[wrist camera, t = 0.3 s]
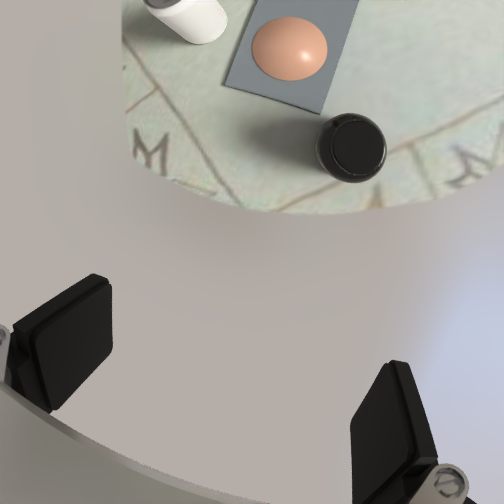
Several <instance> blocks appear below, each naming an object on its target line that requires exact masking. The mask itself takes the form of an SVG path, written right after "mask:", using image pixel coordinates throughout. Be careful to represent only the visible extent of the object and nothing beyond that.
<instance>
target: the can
mask: <svg viewBox="0 0 504 504" xmlns="http://www.w3.org/2000/svg"><path fill="white" fill-rule="evenodd" d="M143 1H144V3H145V4H146V6H147V9H148V10H149V11H150V12H151V13H152V14H153V15H154V16H155V17H157V18H158V19H159V20H161V21H162V22H163V23H164V24H166V25H167V26H168V27H170V28H171V29H172V30H174V31H175V32H176V33H178V34H179V35H180V36H181V37H183V38H184V39H185V40H187V41H188V42H190V43H193V44H205V43H209V42H211V41H213V40H215V39H216V38H218V37H219V36H220V35H221V34H222V33H223V31H224V30H225V28H226V25H227V16H226V13H225V12H224V10H223V9H222V7H221V6H220V4H219V3H218V1H217V0H143Z"/></svg>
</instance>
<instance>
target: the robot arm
mask: <svg viewBox="0 0 504 504" xmlns="http://www.w3.org/2000/svg"><path fill="white" fill-rule="evenodd" d="M13 329H14V332H12V333H11V334H10V332H9V330H8V329H7V328H6V327H5V326H3V325H0V504H268V503H263V502H259V501H254V500H249V499H246V498H242V497H238V496H233V495H230V494H226V493H223V492H219V491H216V490H212V489H209V488H206V487H203V486H199V485H196V484H193V483H190V482H187V481H184V480H182V479H179V478H176V477H173V476H171V475H168V474H165V473H163V472H160V471H158V470H155V469H153V468H151V467H148V466H146V465H143V464H141V463H139V462H137V461H134V460H132V459H130V458H128V457H126V456H123V455H121V454H119V453H117V452H115V451H113V450H111V449H109V448H107V447H105V446H103V445H101V444H99V443H97V442H95V441H94V440H92V439H90V438H88V437H86V436H84V435H83V434H81V433H79V432H77V431H76V430H74V429H72V428H71V427H69V426H67V425H66V424H64V423H62V422H61V421H59V420H57V419H56V418H54V417H53V416H51V415H49V414H50V413H51V412H52V411H53V410H58V409H59V408H60V407H61V406H62V405H63V404H64V403H65V402H66V400H67V399H68V398H69V397H70V396H71V395H72V394H73V393H74V392H75V391H76V389H78V387H79V386H80V385H81V384H82V383H83V382H84V381H85V380H86V379H87V378H88V377H89V376H90V375H91V374H92V373H93V371H94V370H95V369H96V368H97V367H98V366H99V365H100V364H101V363H102V362H103V361H104V360H105V359H106V358H107V357H108V356H109V354H110V353H111V351H112V348H113V340H112V339H113V337H112V286H111V284H109V281H108V279H107V278H105V277H102V276H99V275H97V274H90V275H89V276H87V277H85V278H84V279H82V280H81V281H79V282H77V283H76V284H74V285H73V286H71V287H69V288H68V289H66V290H65V291H63V292H61V293H60V294H59V295H57V296H55V297H54V298H52V299H51V300H49V301H48V302H46V303H44V304H43V305H42V306H40V307H38V308H37V309H35V310H34V311H32V312H31V313H29V314H28V315H26V316H25V317H23V318H22V319H21V320H19V321H17V322H16V323H15V324H13ZM350 432H351V457H352V504H477V503H475V502H474V501H472V500H471V499H470V498H468V497H467V494H468V490H469V482H468V479H467V477H466V475H465V474H464V472H463V471H462V470H461V469H459V468H458V467H456V466H454V465H452V464H447V463H446V464H440V465H439V464H438V461H437V458H438V455H437V451H436V448H435V444H434V440H433V437H432V434H431V430H430V427H429V423H428V420H427V417H426V414H425V410H424V407H423V404H422V401H421V398H420V395H419V392H418V389H417V386H416V383H415V380H414V377H413V375H412V372H411V369H410V366H409V364H408V363H406V362H401V361H396V360H391V361H390V362H389V363H385V364H384V365H383V366H382V368H381V370H380V372H379V374H378V375H377V377H376V379H375V381H374V383H373V384H372V386H371V388H370V390H369V391H368V393H367V395H366V396H365V398H364V400H363V401H362V403H361V405H360V407H359V408H358V410H357V411H356V413H355V415H354V416H353V418H352V420H351V424H350Z"/></svg>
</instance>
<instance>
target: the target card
mask: <svg viewBox="0 0 504 504" xmlns="http://www.w3.org/2000/svg"><path fill="white" fill-rule="evenodd" d="M358 2H359V0H258V1H257V4H256V6H255V9H254V11H253V13H252V16H251V18H250V21H249V23H248V25H247V28H246V30H245V33H244V35H243V38H242V41H241V43H240V46H239V48H238V51H237V53H236V56H235V59H234V61H233V64H232V67H231V70H230V72H229V75H228V78H227V81H226V83H225V85H226V86H228V87H232V88H236V89H240V90H244V91H247V92H251V93H254V94H258V95H261V96H265V97H268V98H272V99H275V100H278V101H281V102H284V103H288V104H291V105H294V106H297V107H300V108H303V109H306V110H308V111H311V112H314V113H317V114H320V113H321V111H322V108H323V105H324V102H325V99H326V96H327V93H328V91H329V88H330V85H331V82H332V79H333V76H334V73H335V70H336V67H337V64H338V62H339V59H340V56H341V53H342V50H343V47H344V44H345V41H346V38H347V35H348V32H349V29H350V26H351V23H352V20H353V17H354V14H355V11H356V8H357V5H358Z"/></svg>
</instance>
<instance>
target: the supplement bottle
mask: <svg viewBox="0 0 504 504" xmlns="http://www.w3.org/2000/svg"><path fill="white" fill-rule="evenodd" d="M315 152H316V156H317V159H318V161H319V163H320V164H321V166H322V167H323V168H324V169H325V170H326V171H327V172H328V173H329V174H330V175H332V176H333V177H334V178H336V179H338V180H340V181H343V182H347V183H360V182H364V181H367V180H369V179H371V178H372V177H374V176H375V175H376V174H377V173H378V172H379V171H380V170H381V168H382V167H383V165H384V162H385V159H386V154H387V146H386V141H385V138H384V135H383V133H382V131H381V130H380V128H379V127H378V126H377V125H376V124H375V123H374V122H373V121H372V120H370V119H369V118H367V117H365V116H363V115H360V114H355V113H345V114H341V115H338V116H335V117H334V118H332V119H330V120H329V121H328V122H327V123H326V124H325V125H324V126H323V128H322V129H321V131H320V132H319V134H318V136H317V139H316V143H315Z"/></svg>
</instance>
